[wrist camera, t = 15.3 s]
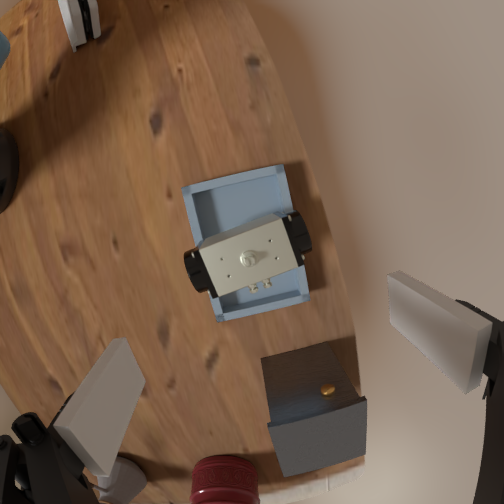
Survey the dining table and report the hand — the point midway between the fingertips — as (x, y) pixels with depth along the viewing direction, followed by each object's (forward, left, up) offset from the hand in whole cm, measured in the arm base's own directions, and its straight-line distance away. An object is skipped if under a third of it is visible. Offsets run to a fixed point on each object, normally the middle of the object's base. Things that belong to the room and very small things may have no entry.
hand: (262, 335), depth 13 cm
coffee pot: (+36, -37, -25) cm, 57 cm away
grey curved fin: (-44, -17, -25) cm, 53 cm away
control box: (+22, +3, -25) cm, 33 cm away
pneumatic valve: (0, 0, -24) cm, 24 cm away
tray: (0, 0, -25) cm, 25 cm away
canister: (+44, -15, -25) cm, 53 cm away
